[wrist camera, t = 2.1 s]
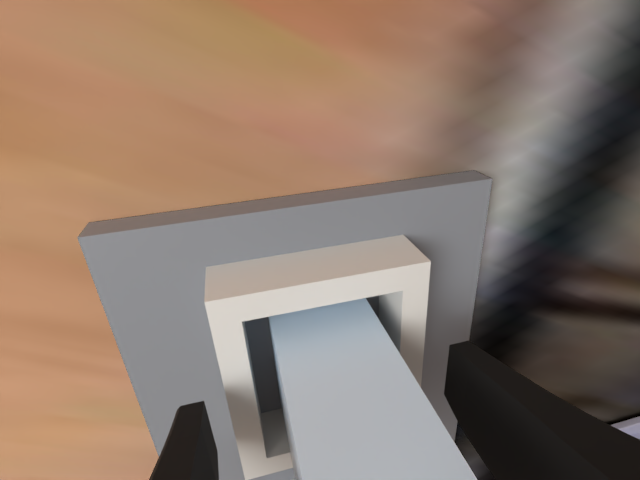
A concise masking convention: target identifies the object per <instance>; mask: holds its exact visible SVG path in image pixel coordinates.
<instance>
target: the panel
mask: <svg viewBox="0 0 640 480" xmlns="http://www.w3.org/2000/svg"><path fill="white" fill-rule="evenodd" d="M491 186H492V178H490V177H487V176H485V175H483V174H481V173H479V172H476V171H474V170H473V171H466V172H458V173H451V174H444V175H436V176H429V177H421V178H414V179H407V180H399V181H392V182H385V183H377V184H370V185H363V186H355V187H348V188H341V189H333V190H326V191H318V192H311V193H304V194H296V195H289V196H282V197H274V198H267V199H260V200H252V201H245V202H238V203H230V204H223V205H215V206H208V207H201V208H193V209H186V210H179V211H171V212H164V213H157V214H149V215H142V216H135V217H127V218H120V219H112V220H105V221H98V222H90V223H88V224H87V225H86V227H85V228H84V229H83V231H82V232H81V233H80V235H79V236H78V241H79V243H80V246H81V249H82V251H83V254H84V257H85V259H86V262H87V265H88V267H89V270H90V273H91V276H92V278H93V281H94V284H95V286H96V289H97V292H98V294H99V297H100V300H101V302H102V305H103V308H104V310H105V313H106V316H107V319H108V321H109V324H110V327H111V329H112V332H113V335H114V337H115V340H116V343H117V345H118V348H119V351H120V354H121V356H122V359H123V362H124V364H125V367H126V370H127V372H128V375H129V378H130V380H131V383H132V386H133V388H134V391H135V394H136V397H137V399H138V402H139V405H140V407H141V410H142V413H143V415H144V418H145V421H146V423H147V426H148V429H149V432H150V434H151V437H152V440H153V442H154V445H155V448H156V450H157V453H158V456H160V454H161V451H162V449H163V447H164V444H165V442H166V439H167V437H168V434H169V431H170V429H171V426H172V423H173V420H174V417H175V414H176V411H177V409H178V408H179V407H180V406H182V405H187V404H191V403H196V402H200V401H204V402H205V406H206V410H207V414H208V417H209V421H210V425H211V429H212V432H213V436H214V440H215V444H216V447H217V452H218V470H219V480H245V477H244V473H243V468H242V464H241V460H240V455H239V451H238V447H237V442H236V438H235V434H234V429H233V425H232V420H231V416H230V412H229V407H228V403H227V399H226V394H225V390H224V386H223V381H222V377H221V373H220V368H219V364H218V360H217V355H216V351H215V346H214V342H213V338H212V333H211V329H210V325H209V320H208V316H207V312H206V307H205V303H204V298H205V274H206V267H209V266H215V265H222V264H228V263H234V262H240V261H246V260H252V259H258V258H264V257H270V256H276V255H283V254H289V253H295V252H301V251H307V250H313V249H319V248H325V247H331V246H337V245H343V244H350V243H356V242H362V241H368V240H374V239H380V238H386V237H392V236H398V235H404V236H405V237H406V238H407V239H408V240H409V241H410V242H411V243H412V244H414V245H415V246H416V247H417V248H418V249H419V250H420V251H421V252H422V253H423V254H424V255H425V256H426V257H427V258H428V259H429V260H430V261H431V267H430V279H429V292H428V305H427V317H426V330H425V343H424V355H423V368H422V380H421V389H422V390H423V392H424V394H425V395H426V397H427V399H428V400H429V402H430V403H431V405H432V407H433V408H434V410H435V412H436V413H437V415H438V416H439V418H440V420H441V421H442V423H443V425H444V426H445V428H446V430H447V431H448V433H449V434H450V436H451V438H452V439H453V441H454V442H455V435H456V428H457V419H456V417H455V415H454V413H453V411H452V409H451V407H450V405H449V403H448V401H447V399H446V397H445V395H444V388H445V380H446V371H447V363H448V354H449V346H450V345H451V344H456V343H460V342H464V341H469V338H470V331H471V324H472V317H473V310H474V303H475V296H476V290H477V283H478V276H479V269H480V262H481V255H482V248H483V241H484V234H485V227H486V220H487V213H488V206H489V199H490V192H491ZM366 299H367V301H368V303H369V304H370V306H371V308H372V309H373V311H374V312H375V314H376V316H377V317H378V319H379V295H378V296H373V297H368V298H366ZM245 327H246V333H247V338H248V344H249V349H250V355H251V361H252V366H253V372H254V377H255V383H256V388H257V394H258V400H259V405H260V411H261V413H264V412H268V411H273V410H277V409H281V408H282V406H281V400H280V395H279V389H278V382H277V375H276V368H275V361H274V354H273V347H272V340H271V333H270V326H269V319H268V317H264V318H259V319H254V320H249V321H245ZM292 479H295V474H294V469H293V468H290V469H286V470H283V471H279V472H275V473H272V474H268V475H264V476H260V477H257V478H253V479H249V480H292Z"/></svg>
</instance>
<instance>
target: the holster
mask: <svg viewBox="0 0 640 480" xmlns="http://www.w3.org/2000/svg"><path fill="white" fill-rule="evenodd" d="M430 267H431V261H430V260H429V259H428V258H427V257H426V256H425V255H424V254H423V253H422V252H421V251H420V250H419V249H418V248H417V247H416V246H415V245H414V244H412V243H411V242H410V241H409V240H408V239H407V238H406V237H405V236H404V235H398V236H392V237H386V238H380V239H374V240H368V241H362V242H356V243H350V244H343V245H337V246H331V247H325V248H319V249H313V250H307V251H301V252H295V253H289V254H283V255H276V256H270V257H264V258H258V259H252V260H246V261H240V262H234V263H228V264H222V265H215V266H209V267H206V274H205V298H204V303H205V307H206V312H207V316H208V320H209V325H210V329H211V333H212V338H213V342H214V346H215V351H216V355H217V360H218V364H219V368H220V373H221V377H222V381H223V386H224V390H225V394H226V399H227V403H228V407H229V412H230V416H231V420H232V425H233V429H234V434H235V438H236V442H237V447H238V451H239V455H240V460H241V464H242V468H243V473H244V477H245V480H249V479H253V478H257V477H260V476H264V475H268V474H272V473H275V472H279V471H283V470H286V469H290V468H293V464H292V458H291V453H290V448H289V443H288V437H287V432H286V427H285V421H284V416H283V411H282V408H281V409H277V410H273V411H268V412H264V413H261V411H260V405H259V400H258V394H257V388H256V383H255V377H254V372H253V366H252V361H251V355H250V349H249V344H248V338H247V333H246V327H245V321H249V320H254V319H259V318H264V317H269V316H275V315H280V314H285V313H290V312H295V311H301V310H306V309H311V308H316V307H321V306H326V305H332V304H337V303H342V302H347V301H352V300H358V299H363V298H368V297H373V296H378V295H379V321H380V322H381V324H382V325H383V327H384V329H385V330H386V332H387V334H388V335H389V337H390V338H391V340H392V342H393V343H394V345H395V347H396V348H397V350H398V351H399V353H400V355H401V356H402V358H403V360H404V361H405V363H406V364H407V366H408V368H409V369H410V371H411V373H412V374H413V376H414V377H415V379H416V381H417V382H418V384H419V386H420V387H421V380H422V368H423V355H424V343H425V330H426V317H427V305H428V292H429V279H430Z"/></svg>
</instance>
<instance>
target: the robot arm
mask: <svg viewBox="0 0 640 480" xmlns="http://www.w3.org/2000/svg"><path fill="white" fill-rule="evenodd" d="M444 395H445V397H446V399H447V401H448V403H449V405H450V407H451V409H452V411H453V413H454V415H455V417H456V419H457V421H458V423H459V425H460V427H461V428H462V430H463V431H464V433H465V434H466V436H467V437H468V439H469V440H470V442H471V443H472V445H473V446H474V448H475V449H476V451H477V452H478V454H479V455H480V457H481V458H482V460H483V461H484V463H485V464H486V466H487V467H488V469H489V470H490V472H491V473H492V475H493V476H494V478H495V479H496V480H640V416H639V417H635V418H632V419H629V420H625V421H622V422H618V423H615V424H611V425H609V424H607V423H605V422H603V421H601V420H599V419H597V418H595V417H593V416H591V415H589V414H587V413H585V412H584V411H582V410H580V409H578V408H576V407H575V406H573V405H571V404H569V403H568V402H566V401H564V400H562V399H560V398H559V397H557V396H555V395H554V394H552V393H550V392H549V391H547V390H545V389H544V388H542V387H540V386H539V385H537V384H535V383H534V382H532V381H530V380H529V379H527V378H526V377H524V376H522V375H521V374H519V373H518V372H516V371H515V370H513V369H511V368H510V367H508V366H507V365H505V364H504V363H502V362H501V361H499V360H497V359H496V358H494V357H493V356H491V355H490V354H488V353H487V352H485V351H484V350H482V349H480V348H479V347H477V346H476V345H474V344H472V343H471V342H469V341H464V342H460V343H456V344H451V345H450V346H449V354H448V363H447V371H446V380H445V388H444ZM149 480H219V470H218V452H217V447H216V444H215V440H214V436H213V432H212V429H211V425H210V421H209V417H208V414H207V410H206V406H205V402H204V401H200V402H196V403H191V404H187V405H182V406H180V407H179V408H178V409H177V411H176V414H175V417H174V420H173V423H172V426H171V429H170V431H169V434H168V437H167V439H166V442H165V444H164V447H163V449H162V451H161V454H160V456H159V459H158V461H157V463H156V466H155V468H154V470H153V472H152V474H151V477H150V479H149Z"/></svg>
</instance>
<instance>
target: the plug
mask: <svg viewBox="0 0 640 480" xmlns="http://www.w3.org/2000/svg"><path fill="white" fill-rule="evenodd" d="M268 319H269V326H270V333H271V340H272V347H273V354H274V361H275V368H276V375H277V382H278V389H279V395H280V400H281V406H282V411H283V416H284V421H285V427H286V432H287V437H288V443H289V448H290V453H291V458H292V464H293V469H294V474H295V480H477V478H476V477H475V475H474V473H473V472H472V470H471V469H470V467H469V465H468V464H467V462H466V460H465V459H464V457H463V456H462V454H461V452H460V451H459V449H458V447H457V446H456V444H455V443H454V441H453V439H452V438H451V436H450V434H449V433H448V431H447V430H446V428H445V426H444V425H443V423H442V421H441V420H440V418H439V416H438V415H437V413H436V412H435V410H434V408H433V407H432V405H431V403H430V402H429V400H428V399H427V397H426V395H425V394H424V392H423V390H422V389H421V387H420V386H419V384H418V382H417V381H416V379H415V377H414V376H413V374H412V373H411V371H410V369H409V368H408V366H407V364H406V363H405V361H404V360H403V358H402V356H401V355H400V353H399V351H398V350H397V348H396V347H395V345H394V343H393V342H392V340H391V338H390V337H389V335H388V334H387V332H386V330H385V329H384V327H383V325H382V324H381V322H380V321H379V319H378V317H377V316H376V314H375V312H374V311H373V309H372V308H371V306H370V304H369V303H368V301H367V299H366V298H363V299H358V300H352V301H347V302H342V303H337V304H332V305H326V306H321V307H316V308H311V309H306V310H301V311H295V312H290V313H285V314H280V315H275V316H269V317H268Z"/></svg>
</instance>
